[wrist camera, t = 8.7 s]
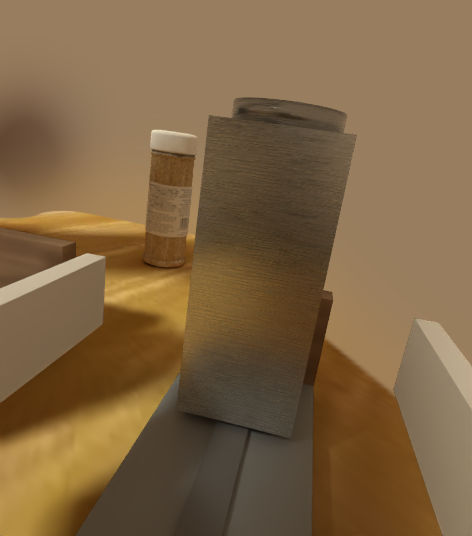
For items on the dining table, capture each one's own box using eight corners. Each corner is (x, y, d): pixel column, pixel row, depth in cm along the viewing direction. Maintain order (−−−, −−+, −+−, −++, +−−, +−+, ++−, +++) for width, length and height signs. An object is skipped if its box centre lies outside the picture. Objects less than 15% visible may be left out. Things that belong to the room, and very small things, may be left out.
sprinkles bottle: (161, 254, 45) (172, 132, 41) (193, 264, 43) (207, 136, 39) (132, 260, 41) (141, 126, 37) (166, 272, 39) (179, 131, 35)
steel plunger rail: (299, 747, 9) (362, 545, 7) (26, 646, 10) (20, 448, 8) (309, 391, 23) (331, 292, 21) (194, 364, 24) (205, 267, 22)
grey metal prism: (290, 438, 16) (362, 108, 12) (176, 409, 17) (211, 89, 13) (296, 375, 21) (349, 122, 17) (206, 354, 22) (239, 108, 18)
